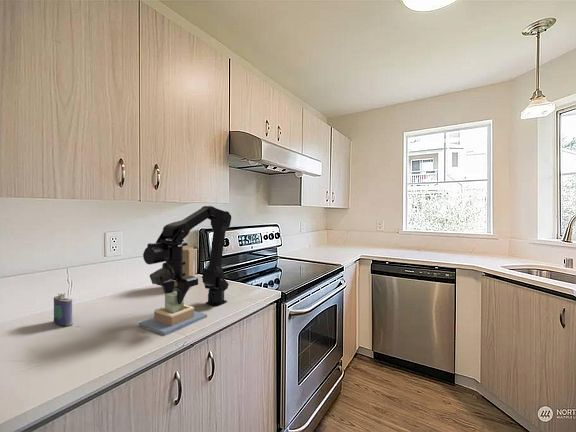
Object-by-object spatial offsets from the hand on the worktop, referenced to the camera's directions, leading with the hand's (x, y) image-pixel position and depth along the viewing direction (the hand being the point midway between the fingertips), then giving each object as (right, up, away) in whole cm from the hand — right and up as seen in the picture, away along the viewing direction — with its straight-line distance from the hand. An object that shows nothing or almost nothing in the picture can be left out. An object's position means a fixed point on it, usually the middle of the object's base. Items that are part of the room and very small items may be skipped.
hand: (174, 302), depth 103 cm
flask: (-38, -7, -3) cm, 39 cm away
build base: (0, -7, 0) cm, 7 cm away
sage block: (0, -3, 0) cm, 3 cm away
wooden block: (-13, -5, +41) cm, 44 cm away
